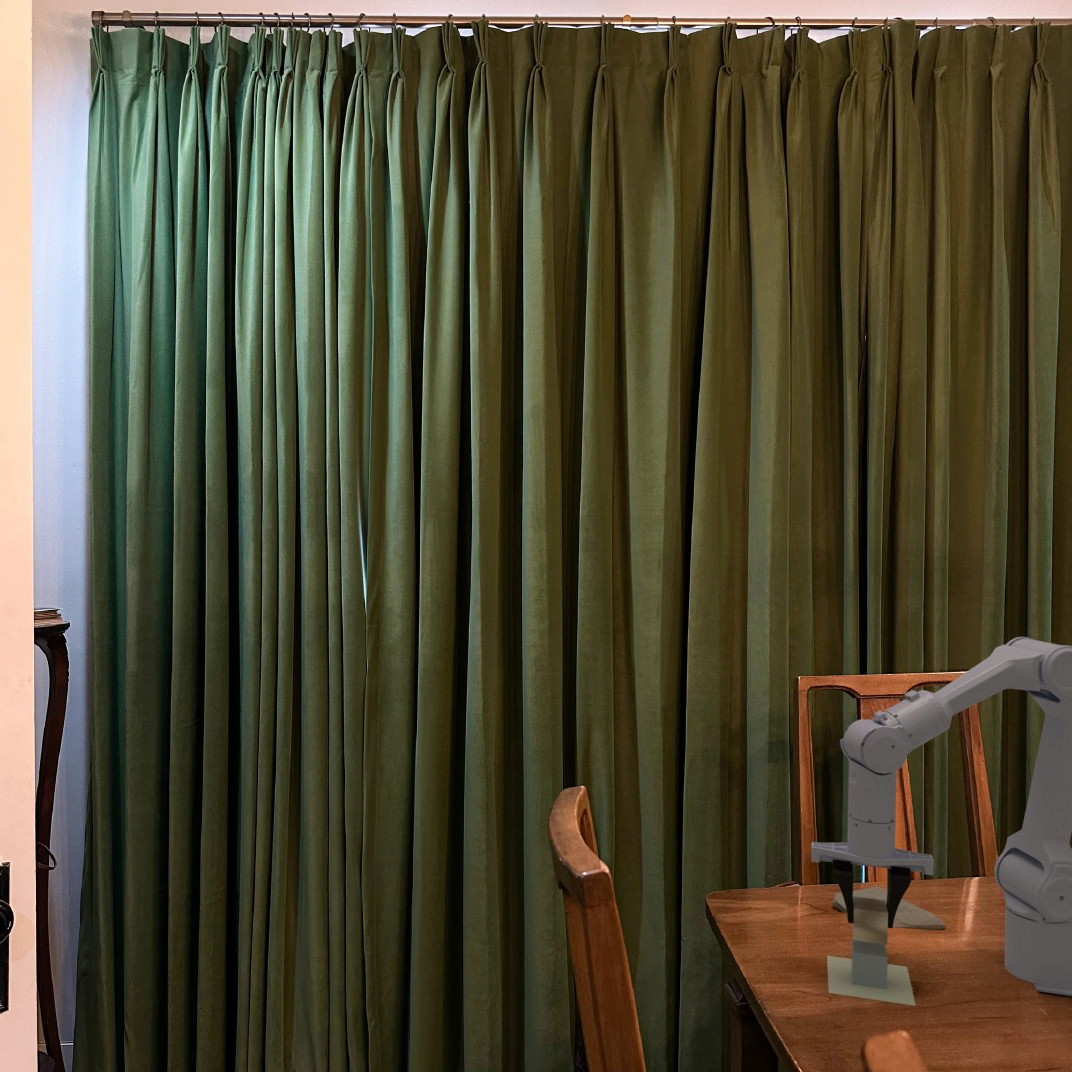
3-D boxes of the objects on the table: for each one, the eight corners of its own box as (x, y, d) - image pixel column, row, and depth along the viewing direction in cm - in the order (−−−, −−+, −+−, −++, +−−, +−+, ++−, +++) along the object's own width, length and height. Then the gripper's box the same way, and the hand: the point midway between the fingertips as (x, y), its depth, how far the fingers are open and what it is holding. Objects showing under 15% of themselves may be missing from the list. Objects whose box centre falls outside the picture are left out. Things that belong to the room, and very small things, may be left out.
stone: (949, 939, 131) (950, 922, 131) (889, 950, 127) (890, 931, 127) (878, 898, 145) (878, 881, 145) (822, 906, 141) (823, 889, 141)
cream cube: (884, 930, 118) (885, 900, 117) (887, 944, 114) (887, 912, 114) (852, 926, 119) (852, 896, 119) (853, 940, 115) (854, 908, 115)
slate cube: (884, 974, 118) (884, 943, 117) (887, 989, 114) (887, 957, 114) (851, 969, 119) (852, 939, 119) (853, 984, 115) (853, 953, 115)
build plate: (906, 974, 120) (906, 966, 120) (915, 1013, 110) (915, 1005, 110) (826, 963, 122) (827, 955, 122) (828, 1000, 113) (828, 992, 113)
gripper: (929, 812, 118) (927, 917, 118) (811, 801, 122) (810, 902, 122) (936, 830, 111) (934, 941, 111) (812, 818, 115) (810, 924, 115)
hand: (869, 922), depth 116 cm, fingers closed on cream cube, 4 cm apart
